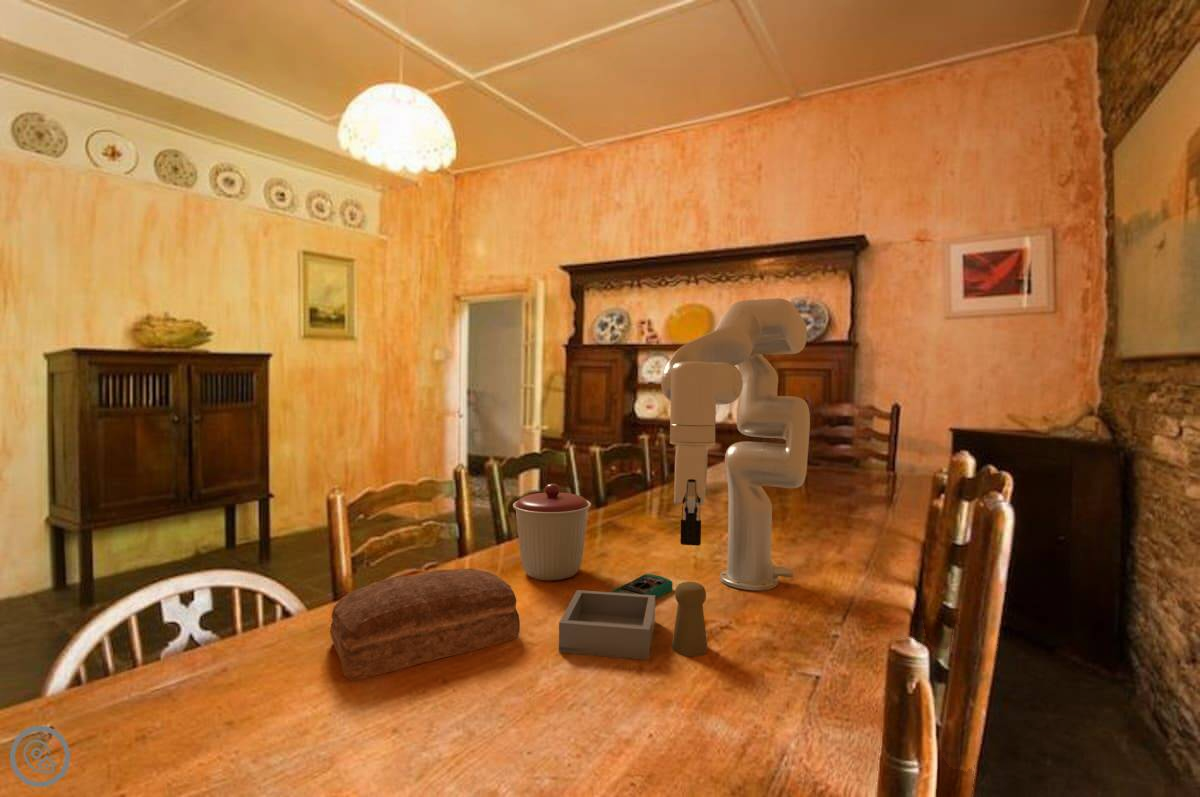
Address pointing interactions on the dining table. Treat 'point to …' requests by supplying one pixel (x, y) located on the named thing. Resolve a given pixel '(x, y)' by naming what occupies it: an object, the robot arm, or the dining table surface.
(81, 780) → the dining table surface
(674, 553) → the dining table surface
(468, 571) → the bread
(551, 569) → the canister
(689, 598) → the tan piece
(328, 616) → the dining table surface
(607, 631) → the gray square tray
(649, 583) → the digital multimeter
